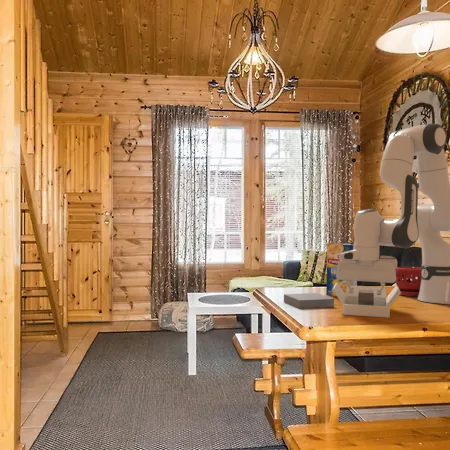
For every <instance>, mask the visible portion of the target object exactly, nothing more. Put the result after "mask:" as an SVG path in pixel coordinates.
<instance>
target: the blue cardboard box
mask: <svg viewBox="0 0 450 450" xmlns="http://www.w3.org/2000/svg"><path fill="white" fill-rule="evenodd" d="M353 245H354V243H342V242H341V243H338V242H337V243H336V242H332V243H330V242H329V243H326V291H325V292H326V295H325V296H334V297H337V295H336V294H335V292H334V291H333V288H334V286H335V284H336V283H338V284H339V286H340V287H341V289H342V290H343V292H344V293H345V295H346V296H347V284H346V280H338V279H337V278H336V272H337V266H338V263H339V261H340V260H342V259H341V258H340V255H341V253H343V252H347V251H349V250H350V251H351V250H353ZM350 286H358V281H350Z"/></svg>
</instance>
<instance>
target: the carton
mask: <svg viewBox="0 0 450 450" xmlns="http://www.w3.org/2000/svg"><path fill="white" fill-rule="evenodd" d="M351 288H354V290H353V291H354V293H349V288H348V286H347V296H346V295H345V293H344V292H343V290H342V289H341V287H340V286H339V284H338V283H336V284H335V286H334V288H333V291H334V292H335V294H336V295H337V296H336V297H337V298H338V300H339V301H340V303H341V304H342V315H344V316H345V315H346V316H358V317H361V316H362V317H373V318H374V317H375V318H390V317H391V315H390V314H391V313H390V312H391V306H392V305H393V304H394V303H395V302H396V300H397V299H398V297H399V296H400V294H401V292H400V290H399V288H398V286H397V284H396V285H395V286H394V287H393V289H392V290H391V291H390V293H389V294H388V295H387V287H386V286H385V287H384V288H383V290H382V295H377V290H380V288H381V286H370V285H369V286H367V285H366V286H365V285H357V286H351ZM359 289H373V292H374V306H372V305H358V293H359Z"/></svg>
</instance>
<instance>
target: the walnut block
mask: <svg viewBox="0 0 450 450" xmlns="http://www.w3.org/2000/svg"><path fill="white" fill-rule="evenodd" d="M358 305H372V306H374V292H373V289H359V293H358Z"/></svg>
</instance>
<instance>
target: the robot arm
mask: <svg viewBox="0 0 450 450" xmlns="http://www.w3.org/2000/svg"><path fill="white" fill-rule="evenodd" d="M446 142H447V133H446V130H445V129H444V127H443V126H442V125H441V124H438V123H428V124H419V125H414V126H411V127H407V128H403V129H398V130H397V129H396V131H393V132H391V134H390V135H389V137H388V139H387V143H386V144H385V145H386V146H385V147H384V150H383V153H382V158H381V161H380V166H379V177H380V180H381V181H382V183H384V184H385V185H386V186H388V187H389V188H392V189H393V190H397V191H398V192H399V193H400V197H401V199H400V201H401V202H400V216H399V218H396V219H395V218H393V219H391V218H385V217H383V216H382V215H381V214H380V213H379V210H378V209H376V208H368V209H367V208H364V209H360V210H358V211H357V212H356V214H355V215H354V216H355V217H354V221H353V236H354V241H353V244H354V245H353V250H351V251H350V250H349V251H347V252H343V253H341V255H340V258H341V259H342V260H340V261H339V263H338V266H337V272H336V278H337V279H338V280H346V284H347V286H348V288H349V293H354V291H353V290H354V288H351V286H350V281H357V282H368V283H369V282H370V283H371V282H373V283H380V287H381V288H380V290H377V295H382V290H383V288H384V287H386V283H388V284H389V283H390V284H393V283H396V271H395V269H396V268H397V267H398V260H397V258H396V257H394V256H393V255H381V254H380V246H386V247H396V248H401V249H410V248H411V247H412V246H414V244H415V243H416V242H418V241H417V240H418V239H419V241H420V245H421V261H422V262H421V266H420V268H421V277H422V278H421V286H420V291H419V295H418V296H417V299H416V300H418V301H421V302H424V303H432V304H443V305H450V243H449V242H447V241H446V240H444V239H443V238H442V235H441V232H450V176H449V169H448V161H447V157H446V153H445V149H444V147H445V145H446ZM414 156H415V157H416V172H417V179H416V177H414V176H413V164H414ZM418 188H419V189H418ZM419 191H420V192H421V193H422V194H423V195H425V196H427V197H428V198H429V199H430V200H431V202H432V203H422V204H419V201H418V199H419Z"/></svg>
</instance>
